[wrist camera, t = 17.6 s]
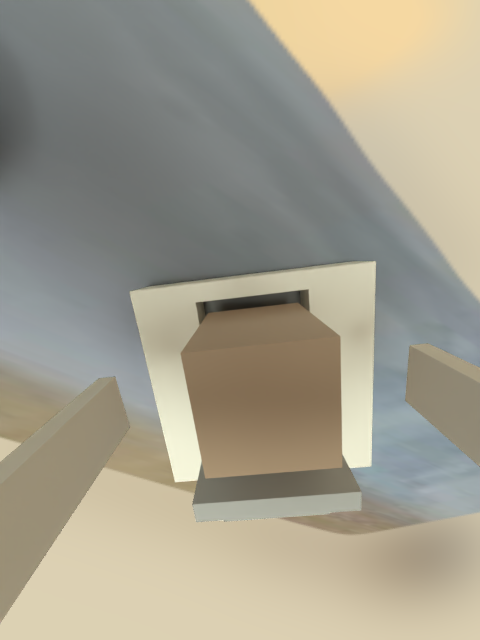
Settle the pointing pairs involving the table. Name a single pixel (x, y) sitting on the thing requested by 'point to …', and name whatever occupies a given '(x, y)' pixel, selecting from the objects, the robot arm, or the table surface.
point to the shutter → (276, 494)
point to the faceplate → (249, 292)
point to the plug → (265, 391)
